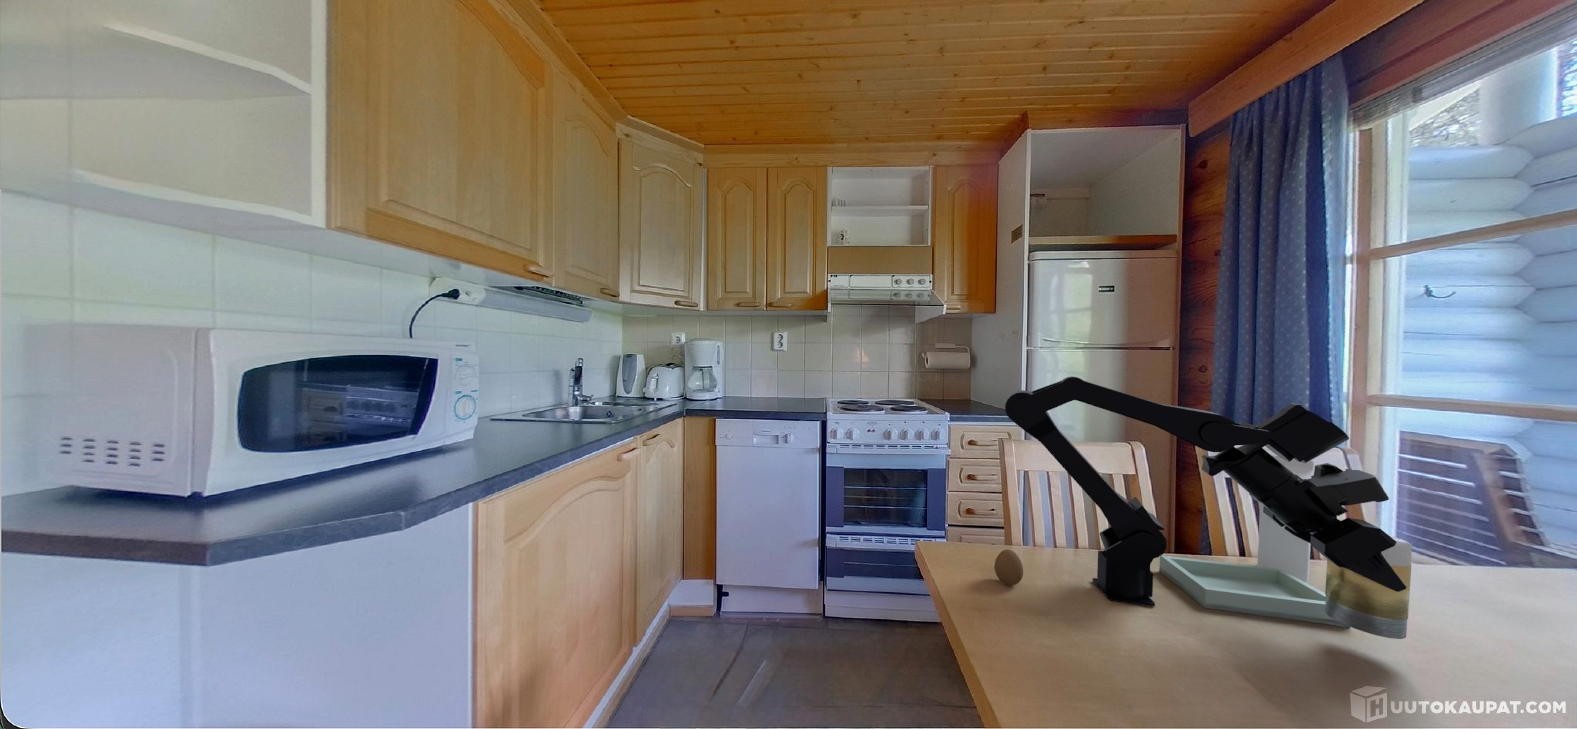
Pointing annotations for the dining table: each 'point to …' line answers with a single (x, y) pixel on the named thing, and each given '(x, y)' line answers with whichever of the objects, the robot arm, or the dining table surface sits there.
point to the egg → (1008, 567)
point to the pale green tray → (1247, 589)
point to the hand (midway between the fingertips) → (1382, 577)
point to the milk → (1284, 536)
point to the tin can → (1371, 596)
